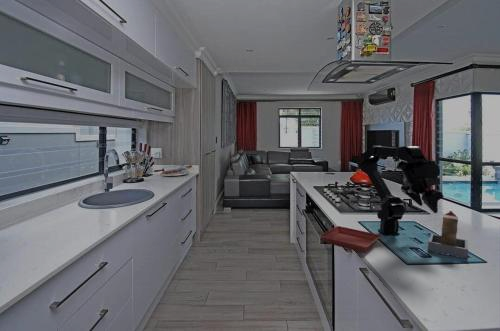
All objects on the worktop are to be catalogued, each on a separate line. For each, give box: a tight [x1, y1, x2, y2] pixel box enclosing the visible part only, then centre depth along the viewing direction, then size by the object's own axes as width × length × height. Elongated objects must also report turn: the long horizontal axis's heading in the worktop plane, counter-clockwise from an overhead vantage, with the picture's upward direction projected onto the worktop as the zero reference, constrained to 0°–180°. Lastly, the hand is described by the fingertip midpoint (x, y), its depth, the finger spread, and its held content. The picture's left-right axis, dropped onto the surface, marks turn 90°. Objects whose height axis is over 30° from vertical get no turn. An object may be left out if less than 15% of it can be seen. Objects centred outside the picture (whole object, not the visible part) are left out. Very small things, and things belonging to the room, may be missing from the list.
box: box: [427, 233, 469, 260], centre depth 108 cm, size 12×12×4 cm
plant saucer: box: [319, 225, 382, 253], centre depth 114 cm, size 18×18×3 cm
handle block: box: [441, 214, 459, 246], centre depth 107 cm, size 4×4×12 cm
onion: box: [444, 210, 458, 217], centre depth 136 cm, size 6×6×8 cm
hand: (428, 208), depth 118 cm, fingers open, 9 cm apart
